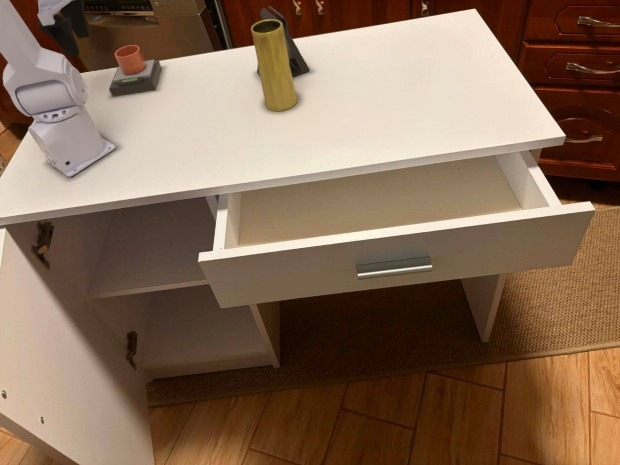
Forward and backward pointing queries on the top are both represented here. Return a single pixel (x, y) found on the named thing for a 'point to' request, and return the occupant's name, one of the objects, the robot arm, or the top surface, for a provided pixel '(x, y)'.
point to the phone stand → (287, 45)
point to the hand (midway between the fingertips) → (79, 45)
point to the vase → (274, 65)
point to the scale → (136, 80)
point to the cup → (130, 59)
